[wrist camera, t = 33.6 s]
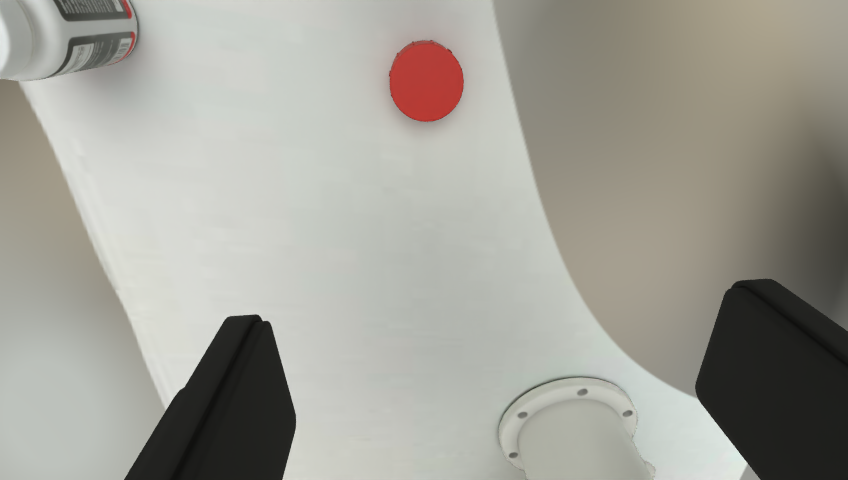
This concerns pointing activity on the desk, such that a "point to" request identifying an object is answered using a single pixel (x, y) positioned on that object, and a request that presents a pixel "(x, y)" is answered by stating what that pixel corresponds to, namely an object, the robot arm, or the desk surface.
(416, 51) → the cap
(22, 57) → the pill bottle
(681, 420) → the desk surface
